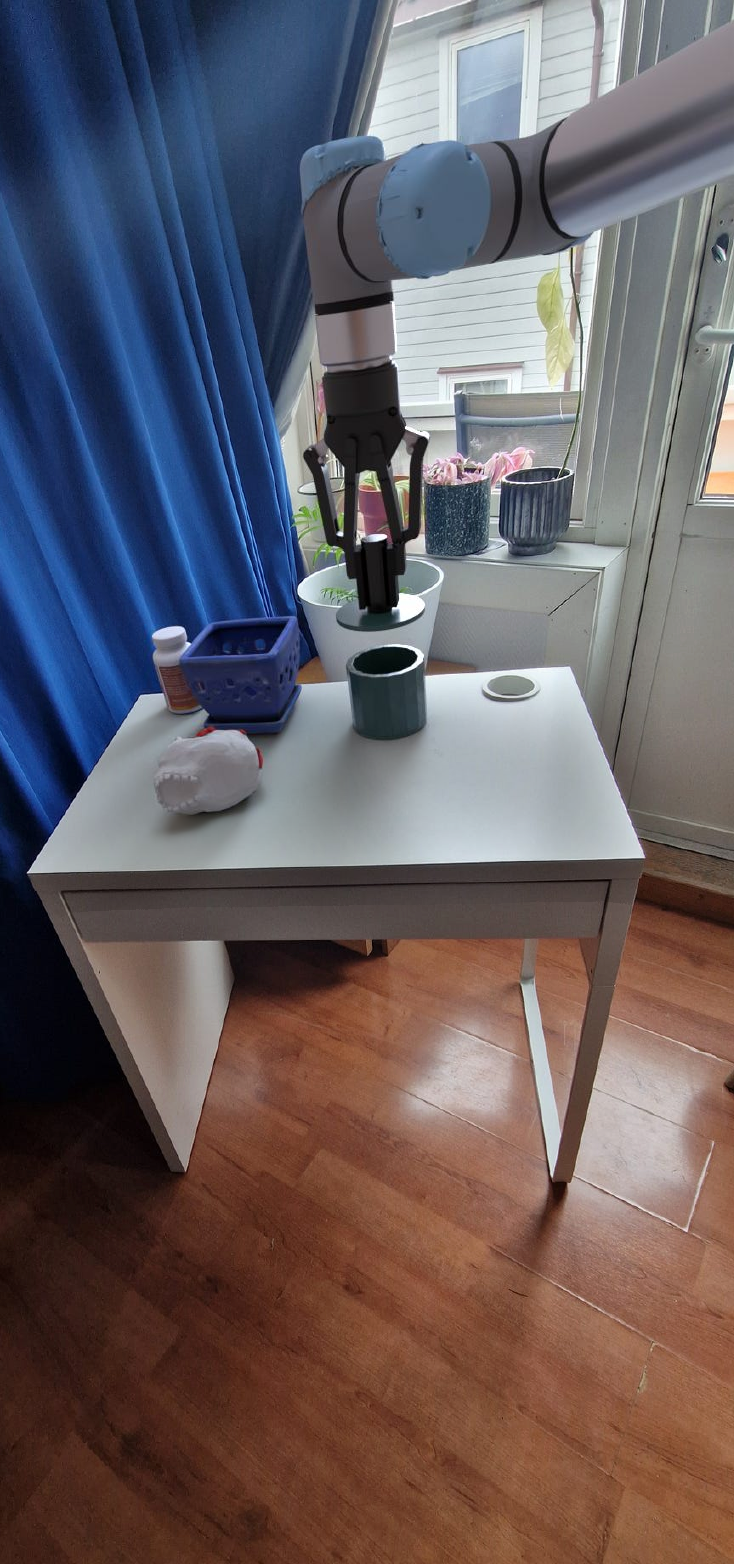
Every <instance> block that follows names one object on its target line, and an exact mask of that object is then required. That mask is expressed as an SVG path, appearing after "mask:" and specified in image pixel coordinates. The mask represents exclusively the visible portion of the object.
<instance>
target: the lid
mask: <svg viewBox="0 0 734 1564" xmlns="http://www.w3.org/2000/svg"><path fill="white" fill-rule="evenodd" d="M388 543H389V541H388V536H387V535H386V534H383V533H375V534H374V533H373V534H368V535H366V536H363V537H361V538H360V544H361V550H362V560H363V570H364V581H365V591H366V601H367V607H366V610H359V602H358V598H356V599H353V600H351V601H348V602H347V603H344V605H342V606H341V607H339V609H337V611H336V613H335V621H336V623H337V624H338V626H339V627H341V628H343V629H346V630H349V631H354V632H363V633H373V632H384V631H390V630H395V629H399V628H402V627H405V626H407V625H411V624H412V623H414V622H416V621H418V620H419V619H420V618H421V617H423V615H424V614H425V612H426V604H425V601H424V600H423V599H422V598H420V597H419V596H416V595H413V594H408V593H399V598H400V599H399V602H398V606H397V607H396V608H391V607H390V594H389V581H388V568H387V555H386V548H387V546H388Z"/></svg>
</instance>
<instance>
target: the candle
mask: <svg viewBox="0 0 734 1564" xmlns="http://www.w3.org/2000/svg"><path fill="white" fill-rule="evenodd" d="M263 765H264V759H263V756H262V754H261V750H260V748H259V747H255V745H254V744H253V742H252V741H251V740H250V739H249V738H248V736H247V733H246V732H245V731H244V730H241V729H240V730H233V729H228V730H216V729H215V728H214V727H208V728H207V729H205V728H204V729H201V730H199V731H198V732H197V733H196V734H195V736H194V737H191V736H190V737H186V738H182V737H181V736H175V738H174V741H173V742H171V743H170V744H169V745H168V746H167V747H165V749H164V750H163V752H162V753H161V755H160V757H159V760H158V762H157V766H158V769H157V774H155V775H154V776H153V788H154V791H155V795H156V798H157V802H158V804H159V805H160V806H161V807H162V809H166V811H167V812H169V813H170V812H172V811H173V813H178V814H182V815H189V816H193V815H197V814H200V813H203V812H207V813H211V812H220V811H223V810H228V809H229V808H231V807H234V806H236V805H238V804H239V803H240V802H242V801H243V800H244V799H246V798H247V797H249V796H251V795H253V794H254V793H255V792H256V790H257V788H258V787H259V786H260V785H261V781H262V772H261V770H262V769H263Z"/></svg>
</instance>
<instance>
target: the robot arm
mask: <svg viewBox="0 0 734 1564" xmlns="http://www.w3.org/2000/svg"><path fill="white" fill-rule="evenodd" d="M299 177H300V189H301V202H302V203H301V209H300V213H301V219H302V220H303V229H304V238H305V245H306V254H307V262H308V270H309V276H310V278H309V279H310V285H311V286H310V287H311V293H312V300H313V301H312V302H313V305H314V319H315V330H316V338H317V347H318V348H317V349H318V357H319V363H320V365H321V366H323V367H326V371H324V373H323V376H322V377H321V382H322V390H323V398H324V407H325V418H326V424H325V425H326V426H325V429H324V431H323V437H322V439H320V440H319V441H317V442H316V443H315V444H310V445H309V446H308V447H307V448H306V449H305V450H304V451H303V452H302V458H303V460H304V463H305V464H306V466H307V467H308V469H309V471H310V473H311V474H312V478H313V479H312V480H313V484H314V489H315V494H316V499H317V504H318V509H319V512H320V517H321V522H322V528H323V531H324V537H325V541H326V542H325V543H326V544H327V546H329V547H335V548H339V549H341V550H342V551H343V554H344V561H345V562H344V563H345V570H346V571H345V572H346V576H347V579H348V580H356V581H355V582H356V591H357V592H356V593H357V599H358V602H359V610H366V607H367V601H366V591H365V581H364V570H363V560H362V550H361V543H360V544H357V541H358V519H359V517H358V516H359V495H360V494H359V493H360V477H361V473H364V472H366V471H369V472H375V475H376V480H377V481H378V485H379V489H380V493H381V498H382V503H383V507H384V511H385V516H386V520H387V521H386V522H387V525H388V530H389V533H390V534H389V535H390V540H391V541H388V546H387V548H386V555H387V568H388V581H389V594H390V607H391V608H396V607H397V606H398V602H399V599H400V598H399V594H400V585H399V576H404V575H405V573H406V570H407V567H408V565H407V551H406V550H407V549H406V547H407V546H406V544H407V543H408V542H410V541H412V540H417V539H418V538H419V536H420V533H421V530H422V529H421V528H422V513H423V512H422V511H423V507H422V506H423V480H424V457H425V455H426V451H427V448H428V446H429V443H430V439H431V435H430V433H429V432H428V431H426V430H423V431H421V432H420V431H417V430H415V429H413V428H411V427H407V421H406V420H405V418H404V416H403V414H402V410H401V400H400V399H401V397H400V382H399V379H400V378H399V365H398V364H396V361H394V360H393V359H392V357H393V356H394V355H395V354H396V353H397V351H398V346H397V330H396V329H397V328H396V313H395V302H394V301H395V297H394V283H393V282H394V281H400V280H410V279H418V280H428V279H430V278H432V277H441V276H445V275H446V274H450V272H455V271H460V270H464V269H465V270H466V269H470V268H475V267H481V266H484V265H485V266H486V265H491V264H495V263H499V262H503V261H510V260H515V259H522V258H528V257H534V256H539V255H541V256H551V255H554V254H558V253H563V252H564V251H567V250H569V249H571V248H575V247H578V246H580V245H582V244H583V243H585V242H586V241H587V240H589V239H591V237H592V235H594V232H597V231H600V230H603V229H605V228H608V227H610V226H613V225H615V224H618V223H621V222H623V221H625V220H628V219H631V218H633V217H637V216H638V215H641V214H644V213H647V212H649V211H652V210H654V209H658V208H660V207H662V206H665V205H667V204H670V203H673V202H675V201H678V200H680V199H683V198H685V197H688V196H691V195H693V194H696V193H699V192H701V191H704V190H706V189H709V188H711V187H714V186H717V185H719V184H723V183H725V182H727V181H729V180H732V179H734V19H732V20H730V21H729V22H727V23H725V24H723V25H721V26H719V27H718V28H716V29H715V30H712V31H711V32H710V33H709V32H708V34H706V35H704V36H703V37H700V38H699V39H697V40H696V41H694V42H692V43H690V44H689V45H687V46H685V47H684V48H682V49H680V50H679V51H676V52H674V53H673V54H672V55H669V56H668V57H666V58H664V59H663V60H661V61H660V62H659V61H658V63H656V64H654V65H652V66H651V67H649V68H647V69H646V70H644V71H642V72H640V73H639V74H637V75H635V76H634V77H632V78H630V79H627V80H626V81H625V82H623V83H621V84H620V85H618V86H616V87H615V88H613V89H611V90H609V91H607V92H606V93H604V94H603V95H601V96H599V97H597V98H595V99H594V100H592V101H590V102H589V103H587V104H585V105H584V106H582V107H580V108H577V110H575V111H573V112H571V113H570V114H569V115H568V116H566V117H564V118H562V119H559V120H558V121H557V122H554V123H553V124H551V125H549V126H547V127H545V128H544V129H542V130H541V131H539V132H537V133H534V134H531V135H528V136H525V137H519V138H513V139H505V140H494V141H487V142H478V143H470V144H464V143H463V142H461V141H458V140H452V139H450V140H449V139H448V140H443V141H441V140H439V141H435V142H431V143H424V142H421V143H420V144H417V145H414V146H412V147H411V148H410V149H409V151H406V152H404V153H401V154H398V155H396V156H393V157H391V158H386V151H385V145H384V143H383V141H382V140H381V139H380V138H379V137H378V136H375V135H358V136H351V137H350V136H349V137H345V138H344V137H343V138H341V139H335V140H331V141H328V142H325V143H323V144H318V145H314V146H312V147H310V148H309V149H307V150H306V151H305V152H304V153H303V154H302V157H301V159H300V164H299ZM402 441H404V442H405V445H406V447H405V451H406V453H407V454H408V455H409V456H410V460H409V475H408V476H409V477H408V514H407V515H408V517H407V519H408V520H407V521H408V522H407V526H404V522H403V516H402V512H401V507H400V502H399V497H398V492H397V487H396V482H395V478H394V470H393V469H394V468H393V464H392V459H393V458H394V456H395V454H396V451H397V450H398V448H399V446H400V444H401V443H402ZM328 450H329V451H330V452H331V453H332V454H333V456H334V457H335V458H336V459H337V461H338V462H339V464H341V466H342V467H343V484H344V486H343V487H344V488H343V489H344V491H343V493H344V496H343V520H342V521H343V525H342V526H343V527H342V531H341V530H340V524H339V518H338V513H337V509H336V504H335V499H334V494H333V488H332V483H331V478H330V474H329V473H330V472H329V469H328V465H327V463H328V461H329V453H328V452H329V451H328Z"/></svg>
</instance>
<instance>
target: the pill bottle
mask: <svg viewBox="0 0 734 1564" xmlns="http://www.w3.org/2000/svg"><path fill="white" fill-rule="evenodd" d="M151 639H152V642H153V646H154V648H156V649H155V650H154V652H153V653H152V660H153V664H154V668H155V671H156V675H157V678H158V681H159V683H160V684H159V685H160V688H161V691H162V694H163V697H164V701H165V704H166V707H167V708H168V710H169V712H171V713H174V714H179V715H180V714H189V713H194V712H197V711H199V710H200V709H203V708H202V706H201V705H200V704H199V702H198V701H197V700H196V698H195V697H194V695H193V693H192V692H191V690H190V688H189V686H188V684H187V682H186V679H185V677H184V675H183V673H182V670H181V667H180V664H179V659H180V657H181V656H182V654H183V653H184V652H185V651H186V649H187V648H188V647H189V646H190V645H191V643H190V642H188V641H187V640H188V636H187V632H186V629H185V628H184V627H183V626H178V625H175V626H167V627H164V628H161V629H158V630H156V631H154V632H153V633H152V635H151ZM198 684H199V687H200V690H201V691H202V688H201V686H200V683H199V682H198Z"/></svg>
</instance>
